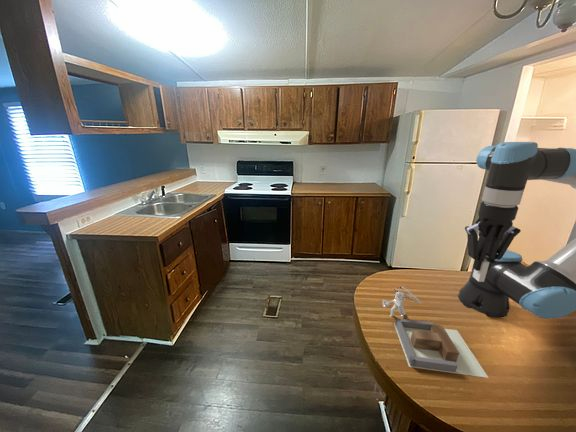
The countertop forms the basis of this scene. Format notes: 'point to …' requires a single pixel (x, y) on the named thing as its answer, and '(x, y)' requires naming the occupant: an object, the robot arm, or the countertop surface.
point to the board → (433, 358)
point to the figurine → (396, 304)
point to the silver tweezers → (409, 293)
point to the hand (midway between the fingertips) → (478, 278)
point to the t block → (435, 342)
